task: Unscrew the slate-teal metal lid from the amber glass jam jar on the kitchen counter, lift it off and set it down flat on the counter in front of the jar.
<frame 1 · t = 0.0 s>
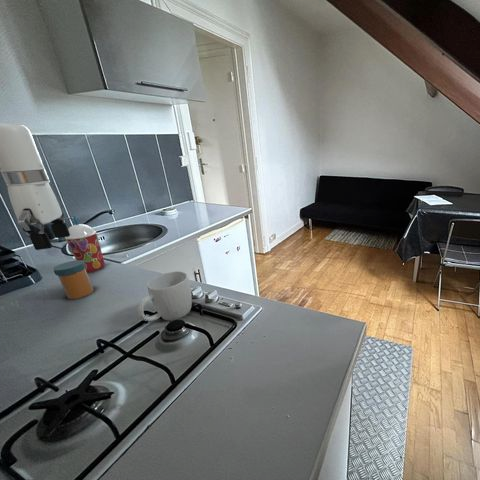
hand: (54, 242, 70), 18 cm above the worktop, tool pointing down, fingers open, 9 cm apart
jam jar: (81, 294, 79), on the worktop
smoothie: (94, 270, 95), on the worktop
mug: (170, 318, 67), on the worktop
jar lid: (69, 266, 75), point 10 cm above the worktop, screwed on, not yet turned
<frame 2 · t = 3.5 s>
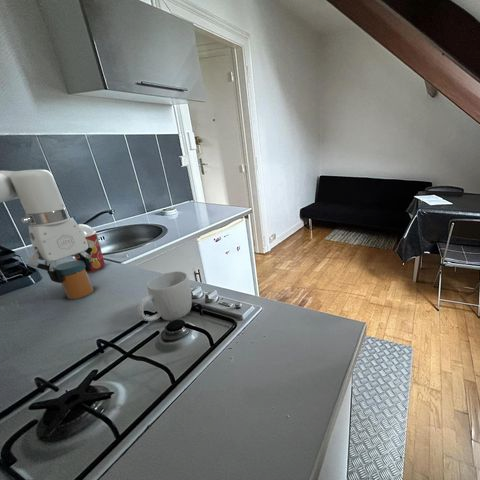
hand: (73, 275, 76), 7 cm above the worktop, tool pointing down, fingers closed on jar lid, 6 cm apart
jar lid: (69, 266, 75), point 10 cm above the worktop, screwed on, not yet turned, touching gripper
everything else where it was.
when the fingers open (6 cm above the worktop, at t = 5.5 s): jar lid stays where it is, point 10 cm above the worktop.
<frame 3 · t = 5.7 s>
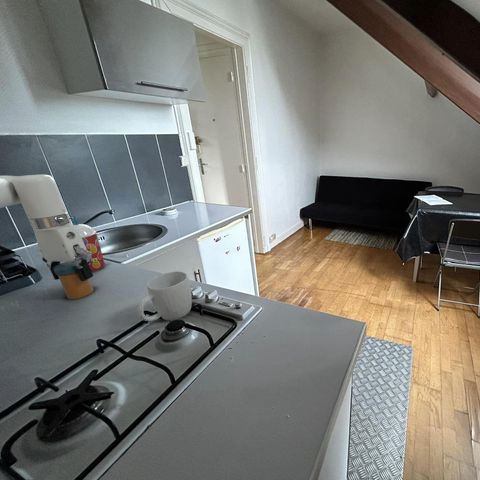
hand: (74, 278, 77), 6 cm above the worktop, tool pointing down, fingers open, 8 cm apart
jar lid: (69, 265, 75), point 10 cm above the worktop, turned 99° so far, risen 0.1 cm, still on its thread
everything else where it was.
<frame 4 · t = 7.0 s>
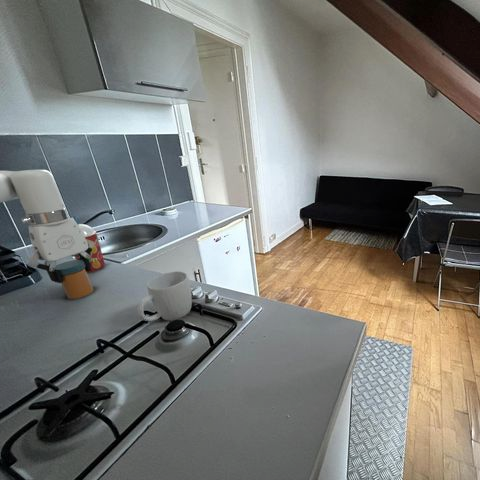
hand: (73, 275, 76), 7 cm above the worktop, tool pointing down, fingers closed on jar lid, 6 cm apart
jar lid: (69, 265, 75), point 10 cm above the worktop, turned 99° so far, risen 0.1 cm, still on its thread, touching gripper
everything else where it was.
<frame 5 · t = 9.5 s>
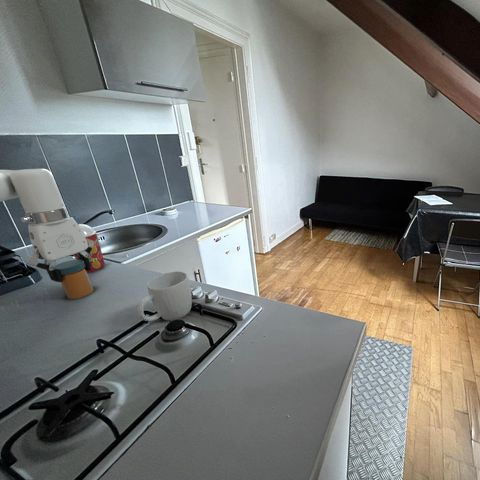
hand: (73, 274, 76), 7 cm above the worktop, tool pointing down, fingers closed on jar lid, 6 cm apart
jar lid: (69, 265, 75), point 10 cm above the worktop, turned 198° so far, risen 0.3 cm, still on its thread, touching gripper
everything else where it was.
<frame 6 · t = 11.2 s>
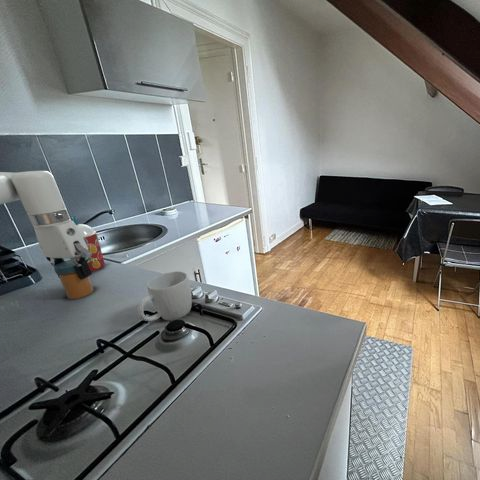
hand: (75, 276, 77), 6 cm above the worktop, tool pointing down, fingers closed on jar lid, 6 cm apart
jam jar: (81, 294, 79), on the worktop, touching gripper
jar lid: (70, 264, 75), point 10 cm above the worktop, turned 298° so far, risen 0.4 cm, still on its thread, touching gripper
everything else where it was.
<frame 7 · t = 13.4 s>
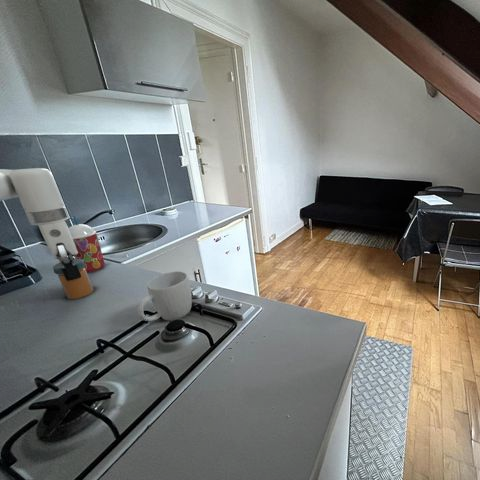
hand: (72, 274, 76), 7 cm above the worktop, tool pointing down, fingers closed on jar lid, 6 cm apart
jam jar: (81, 294, 79), on the worktop
jar lid: (68, 264, 75), point 10 cm above the worktop, off its thread, touching gripper
everything else where it was.
when the fingers open (2 cm above the worktop, at t = 21.2 s): jar lid drops 4 cm, point 1 cm above the worktop.
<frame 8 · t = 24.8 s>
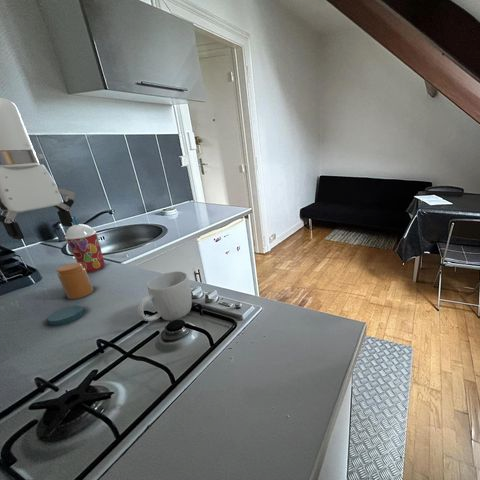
hand: (45, 231, 64), 22 cm above the worktop, tool pointing down, fingers open, 9 cm apart
jar lid: (66, 314, 67), point 1 cm above the worktop, off its thread
everything else where it was.
at the end: jar lid came off its thread; jar lid point 1.4 cm above the worktop; the gripper is holding nothing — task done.
